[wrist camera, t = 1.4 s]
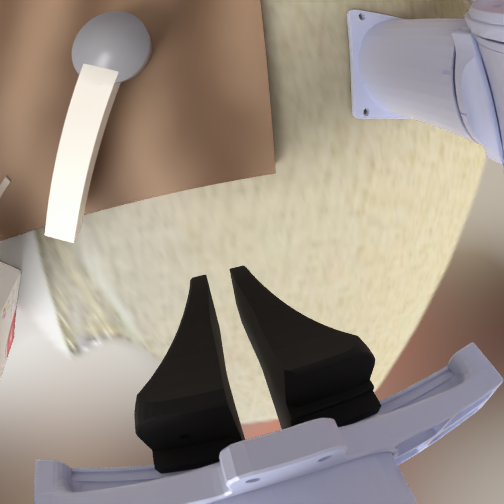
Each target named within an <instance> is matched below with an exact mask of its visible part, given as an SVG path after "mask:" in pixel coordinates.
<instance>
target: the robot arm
mask: <svg viewBox="0 0 504 504" xmlns="http://www.w3.org/2000/svg"><path fill="white" fill-rule="evenodd" d="M359 14H360V15H361V16H362V20H361V19H360V18H359ZM464 18H465V19H457V18H429V19H402V18H398V17H394V16H389V15H384V14H379V13H374V12H368V11H362V10H356V9H352V10H349V11H348V12H347V26H348V38H349V52H350V69H351V96H352V115H353V116H354V117H355V118H357V119H414V120H417V121H420V122H423V123H426V124H429V125H432V126H435V127H438V128H440V129H443V130H446V131H449V132H451V133H454V134H456V135H459V136H461V137H464V138H466V139H469V140H471V141H474V142H476V143H478V144H480V145H482V146H483V148H484V149H485V152H486V156H487V157H488V158H490V159H492V160H494V161H496V162H498V163H500V164H502V165H503V173H504V0H476V1H474V2H473V3H472V4H471V6H470V8H469V10H468V11H467V12H466V13H465V16H464ZM364 109H366V114H365V115H364V113H363V111H364ZM230 273H231V279H232V284H233V289H234V294H235V299H236V304H237V308H238V311H239V314H240V318H241V321H242V324H243V326H244V328H245V331H246V333H247V335H248V338H249V340H250V342H251V344H252V347H253V349H254V351H255V353H256V356H257V358H258V360H259V362H260V365H261V367H262V370H263V373H264V376H265V379H266V382H267V385H268V388H269V391H270V394H271V397H272V400H273V403H274V406H275V409H276V412H277V415H278V418H279V422H280V425H281V428H282V430H279V431H276V432H272V433H269V434H265V435H261V436H258V437H254V438H250V439H246V440H245V438H244V434H243V431H242V428H241V424H240V421H239V417H238V414H237V410H236V407H235V403H234V400H233V396H232V393H231V389H230V385H229V382H228V378H227V373H226V367H225V361H224V354H223V347H222V341H221V334H220V328H219V324H218V320H217V316H216V312H215V308H214V304H213V300H212V296H211V292H210V288H209V284H208V280H207V276H206V275H202V276H198V277H194V278H192V279H191V280H190V289H189V295H188V299H187V303H186V307H185V311H184V314H183V317H182V320H181V323H180V326H179V328H178V331H177V333H176V336H175V338H174V340H173V342H172V344H171V346H170V348H169V350H168V352H167V354H166V356H165V357H164V359H163V361H162V362H161V364H160V365H159V367H158V368H157V370H156V372H155V373H154V374H153V376H152V377H151V379H150V380H149V381H148V382H147V384H146V385H145V386H144V387H143V389H142V390H141V391H140V392H139V394H138V395H137V398H136V405H135V429H136V434H137V436H138V437H139V438H140V439H141V440H142V441H143V442H144V443H145V444H146V445H147V446H149V447H150V448H151V449H152V451H153V460H154V464H152V465H142V466H130V467H114V468H70V467H69V466H68V465H66V464H65V463H63V462H60V461H56V460H39V459H37V460H36V465H35V486H34V488H35V489H34V504H418V503H417V501H416V499H415V497H414V495H413V494H412V491H411V490H410V488H409V486H408V484H407V482H406V480H405V478H404V476H403V475H402V473H401V471H400V469H399V467H398V465H399V464H401V463H402V462H404V461H406V460H407V459H409V458H411V457H412V456H414V455H415V454H417V453H419V452H420V451H422V450H423V449H425V448H427V447H428V446H430V445H431V444H432V443H434V442H435V441H437V440H438V439H440V438H441V437H442V436H444V435H445V434H447V433H448V432H450V431H451V430H452V429H454V428H455V427H456V426H458V425H459V424H461V423H462V422H463V421H465V420H466V419H467V418H469V417H470V416H471V415H473V414H474V413H475V412H477V411H478V410H479V409H480V408H481V407H482V406H483V405H484V404H485V402H486V401H487V400H488V399H489V398H490V397H491V395H492V394H493V393H494V392H495V391H496V389H497V388H498V387H499V386H500V384H501V383H502V382H503V378H502V377H501V376H500V374H499V373H498V372H497V371H496V370H495V368H494V367H493V366H492V365H491V363H490V362H489V361H488V359H487V358H486V357H485V356H484V355H483V353H482V352H481V351H480V350H479V349H478V347H477V346H476V345H475V344H474V343H470V344H469V345H467V346H466V347H464V348H463V349H461V350H459V351H458V352H456V353H455V354H454V355H453V356H452V357H451V359H450V361H449V363H448V366H446V367H444V368H443V369H441V370H439V371H437V372H436V373H434V374H432V375H430V376H429V377H427V378H425V379H423V380H421V381H419V382H417V383H416V384H414V385H412V386H410V387H408V388H406V389H404V390H402V391H400V392H398V393H396V394H394V395H392V396H390V397H388V398H385V399H383V400H381V401H378V399H377V397H376V395H375V394H374V392H373V389H374V386H373V384H372V382H371V381H370V377H371V374H372V371H373V368H374V365H375V358H374V355H373V354H372V352H371V351H370V349H369V348H368V347H367V346H366V344H365V343H364V342H363V341H362V340H361V339H360V338H359V337H358V336H356V335H352V334H349V333H345V332H342V331H338V330H335V329H333V328H330V327H328V326H325V325H323V324H320V323H318V322H316V321H314V320H312V319H310V318H308V317H306V316H304V315H303V314H301V313H299V312H297V311H296V310H294V309H293V308H291V307H290V306H288V305H287V304H285V303H284V302H283V301H281V300H280V299H279V298H277V297H276V296H275V295H274V294H272V293H271V292H270V291H269V290H268V289H267V288H266V287H264V286H263V285H262V284H261V283H260V282H259V281H258V280H257V279H256V278H255V277H254V276H253V275H252V274H251V272H250V271H249V270H248V269H247V268H246V267H245V266H240V267H236V268H231V269H230Z"/></svg>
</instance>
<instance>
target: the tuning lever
mask: <svg viewBox="0 0 504 504" xmlns="http://www.w3.org/2000/svg"><path fill="white" fill-rule="evenodd" d="M151 55H152V41H151V38H150V36H149V34H148V32H147V29H146V27H145V26H144V24H143V23H142V21H141V20H140V19H138V18H137V17H136V16H134V15H132V14H130V13H127V12H122V11H112V12H107V13H103V14H100V15H98V16H96V17H94V18H93V19H91V20H90V21H89V22H87V23H86V24H85V25H84V26H83V27H82V29H81V30H80V31H79V33H78V34H77V36H76V38H75V40H74V43H73V47H72V62H73V65H74V68H75V69H76V71H77V73H78V74H79V77H78V80H77V83H76V86H75V89H74V92H73V95H72V99H71V102H70V105H69V109H68V112H67V116H66V119H65V123H64V127H63V131H62V135H61V139H60V143H59V147H58V152H57V156H56V161H55V166H54V171H53V177H52V182H51V188H50V195H49V201H48V209H47V217H46V226H45V236H48V237H52V238H56V239H60V240H64V241H67V242H71V243H74V242H75V239H76V237H77V235H78V233H79V231H80V229H81V226H82V221H83V216H84V211H85V206H86V201H87V196H88V191H89V187H90V183H91V178H92V174H93V170H94V166H95V162H96V158H97V155H98V151H99V148H100V144H101V141H102V137H103V134H104V130H105V127H106V124H107V121H108V118H109V115H110V112H111V109H112V106H113V103H114V100H115V97H116V94H117V92H118V89H119V86H120V84H121V83H123V82H126V81H129V80H131V79H133V78H135V77H136V76H138V75H139V74H140V73H141V72H142V71H143V70H144V69H145V68H146V66H147V65H148V63H149V61H150V58H151Z"/></svg>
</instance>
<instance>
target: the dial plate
mask: <svg viewBox="0 0 504 504" xmlns="http://www.w3.org/2000/svg"><path fill="white" fill-rule="evenodd" d="M112 11H122V12H127V13H130V14H132V15H134V16H136V17H137V18H138V19H140V20H141V21H142V23H143V24H144V26H145V27H146V29H147V32H148V34H149V36H150V38H151V41H152V55H151V58H150V61H149V63H148V65H147V66H146V68H145V69H144V70H143V71H142V72H141V73H140V74H139V75H138V76H136V77H135V78H133V79H131V80H129V81H126V82H123V83H121V84H120V86H119V89H118V92H117V94H116V97H115V100H114V103H113V106H112V109H111V112H110V115H109V118H108V121H107V124H106V127H105V130H104V134H103V137H102V141H101V144H100V148H99V151H98V155H97V158H96V162H95V166H94V170H93V174H92V178H91V183H90V187H89V191H88V196H87V201H86V206H85V211H84V215H86V214H89V213H93V212H97V211H100V210H104V209H108V208H112V207H116V206H120V205H124V204H128V203H132V202H136V201H140V200H144V199H148V198H152V197H157V196H161V195H165V194H170V193H174V192H179V191H184V190H188V189H193V188H198V187H203V186H208V185H213V184H218V183H223V182H228V181H234V180H239V179H245V178H250V177H256V176H262V175H268V174H274V173H276V170H275V156H274V142H273V129H272V117H271V105H270V93H269V82H268V71H267V60H266V50H265V40H264V30H263V21H262V11H261V3H260V0H0V241H2V240H5V239H8V238H11V237H14V236H17V235H20V234H23V233H26V232H29V231H32V230H35V229H38V228H42V227H45V226H46V217H47V209H48V201H49V195H50V188H51V182H52V177H53V171H54V166H55V161H56V156H57V152H58V147H59V143H60V139H61V135H62V131H63V127H64V123H65V119H66V116H67V112H68V109H69V105H70V102H71V99H72V95H73V92H74V89H75V86H76V83H77V80H78V77H79V74H78V73H77V71H76V69H75V68H74V65H73V62H72V47H73V43H74V40H75V38H76V36H77V34H78V33H79V31H80V30H81V29H82V27H83V26H84V25H85V24H86V23H87V22H89V21H90V20H91V19H93V18H94V17H96V16H98V15H100V14H103V13H107V12H112Z"/></svg>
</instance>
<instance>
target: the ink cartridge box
mask: <svg viewBox="0 0 504 504" xmlns="http://www.w3.org/2000/svg"><path fill="white" fill-rule="evenodd" d="M20 278H21V270H19V269H16V268H14V267H12V266H9V265H7V264H5V263H2V262H0V380H1V376H2V373H3V370H4V366H5V363H6V360H7V357H8V354H9V351H10V348H11V345H12V342H13V339H14V327H15V316H16V307H17V299H18V291H19V284H20Z"/></svg>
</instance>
